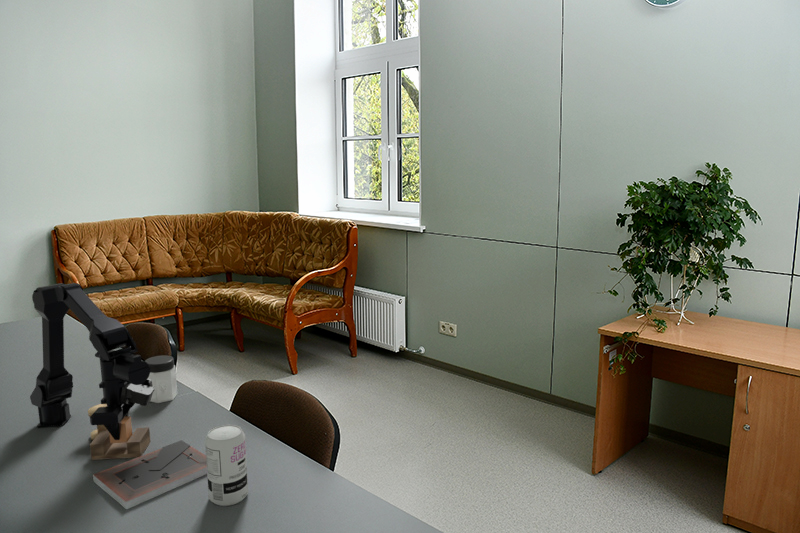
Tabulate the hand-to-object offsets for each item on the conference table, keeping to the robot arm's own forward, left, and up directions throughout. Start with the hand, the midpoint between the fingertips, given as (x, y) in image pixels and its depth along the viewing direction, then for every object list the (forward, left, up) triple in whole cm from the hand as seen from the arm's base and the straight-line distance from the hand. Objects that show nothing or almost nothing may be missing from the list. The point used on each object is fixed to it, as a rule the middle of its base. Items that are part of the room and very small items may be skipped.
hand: (120, 435), depth 150 cm
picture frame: (+12, -13, -5) cm, 18 cm away
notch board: (0, 0, -4) cm, 4 cm away
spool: (-7, +9, -4) cm, 12 cm away
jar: (+1, +33, -4) cm, 33 cm away
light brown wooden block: (0, 0, -1) cm, 1 cm away
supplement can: (+30, -24, -4) cm, 39 cm away
